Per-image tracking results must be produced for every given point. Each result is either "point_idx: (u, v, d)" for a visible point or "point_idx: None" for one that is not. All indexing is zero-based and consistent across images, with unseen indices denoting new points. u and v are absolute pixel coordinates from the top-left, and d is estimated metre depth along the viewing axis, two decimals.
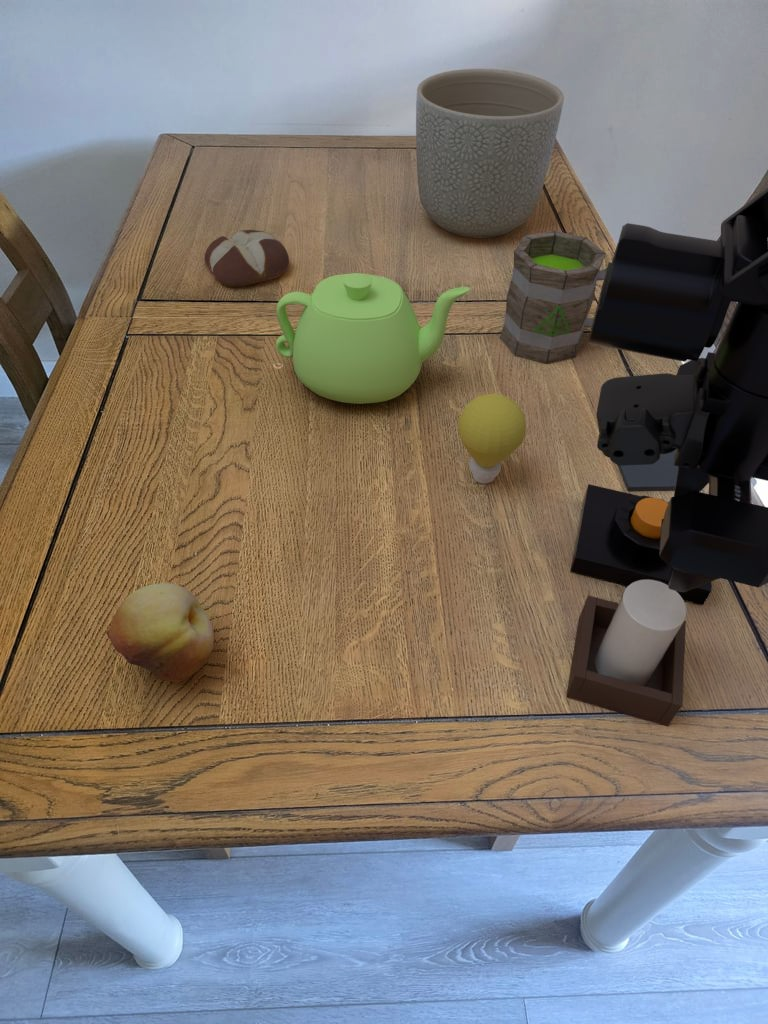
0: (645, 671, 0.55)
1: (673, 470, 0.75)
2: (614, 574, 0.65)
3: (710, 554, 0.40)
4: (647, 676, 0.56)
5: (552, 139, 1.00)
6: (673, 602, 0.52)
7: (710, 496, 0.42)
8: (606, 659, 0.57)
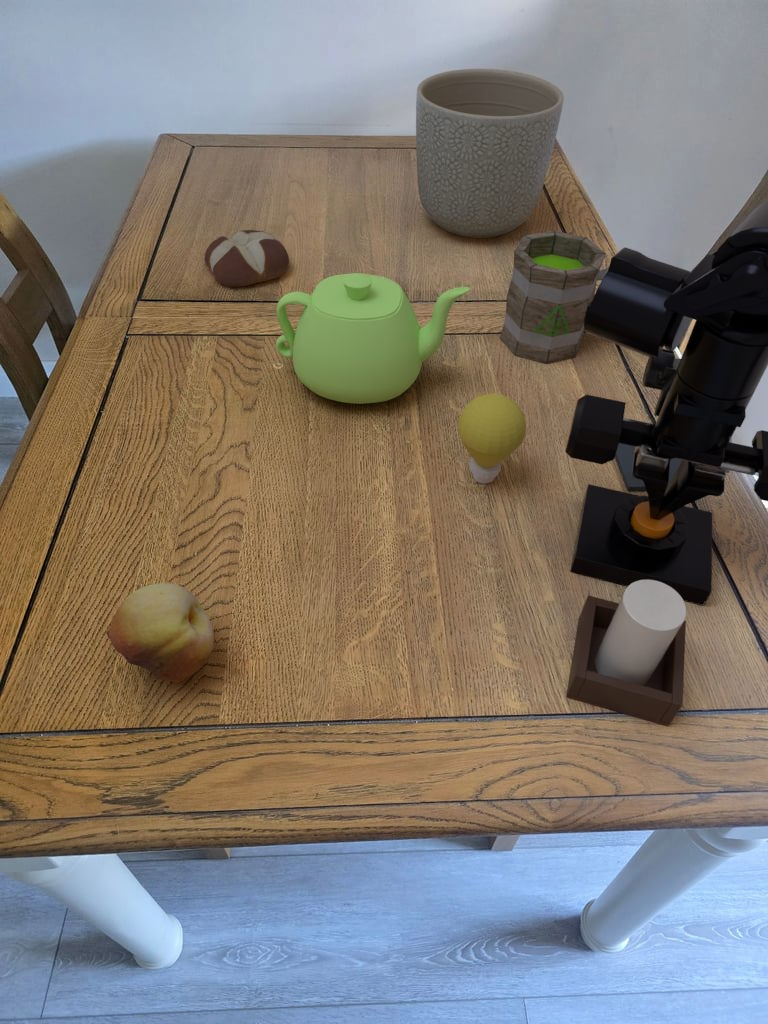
0: (645, 671, 0.55)
1: (673, 470, 0.75)
2: (614, 574, 0.65)
3: (575, 412, 0.60)
4: (647, 676, 0.56)
5: (552, 139, 1.00)
6: (673, 602, 0.52)
7: (622, 409, 0.59)
8: (606, 659, 0.57)
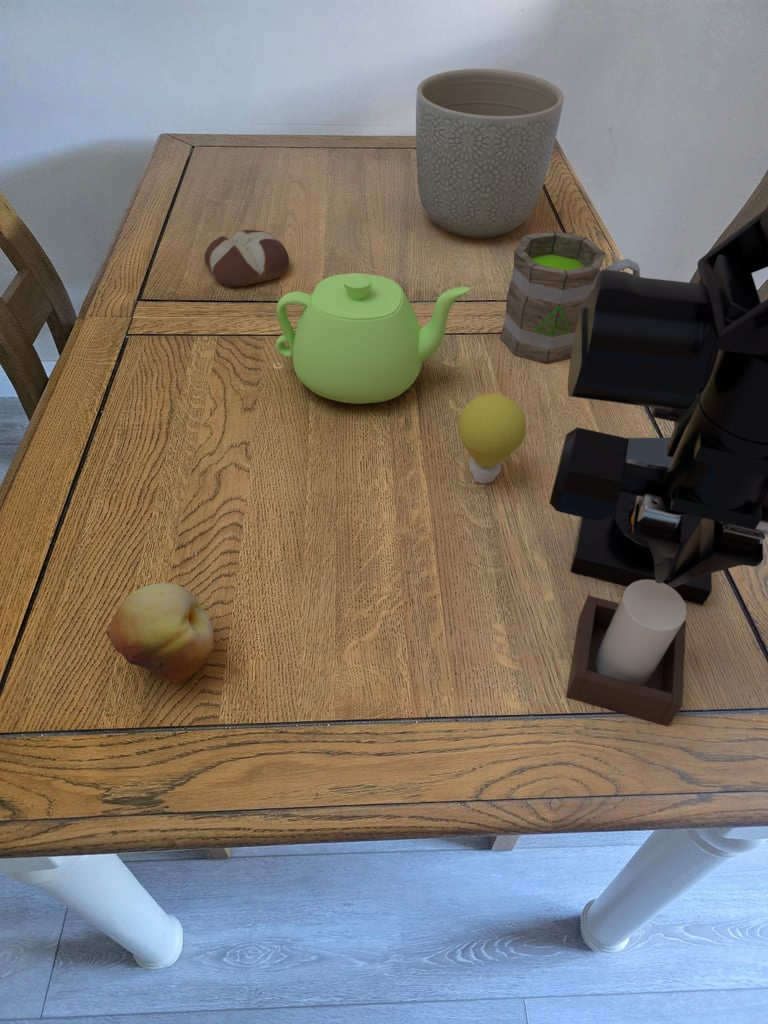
0: (645, 671, 0.55)
1: None
2: (614, 574, 0.65)
3: (562, 450, 0.46)
4: (647, 676, 0.56)
5: (552, 139, 1.00)
6: (673, 602, 0.52)
7: (624, 448, 0.45)
8: (606, 659, 0.57)
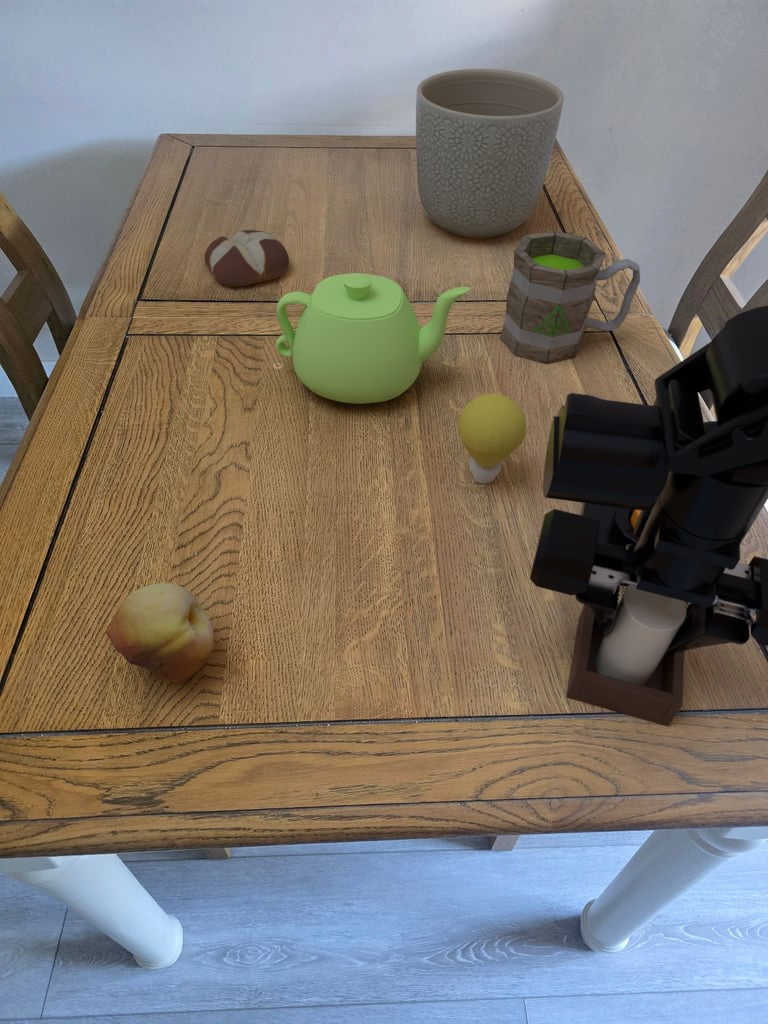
0: (645, 671, 0.55)
1: None
2: None
3: (541, 530, 0.52)
4: (647, 676, 0.56)
5: (552, 139, 1.00)
6: (673, 602, 0.52)
7: (596, 530, 0.50)
8: (606, 659, 0.57)
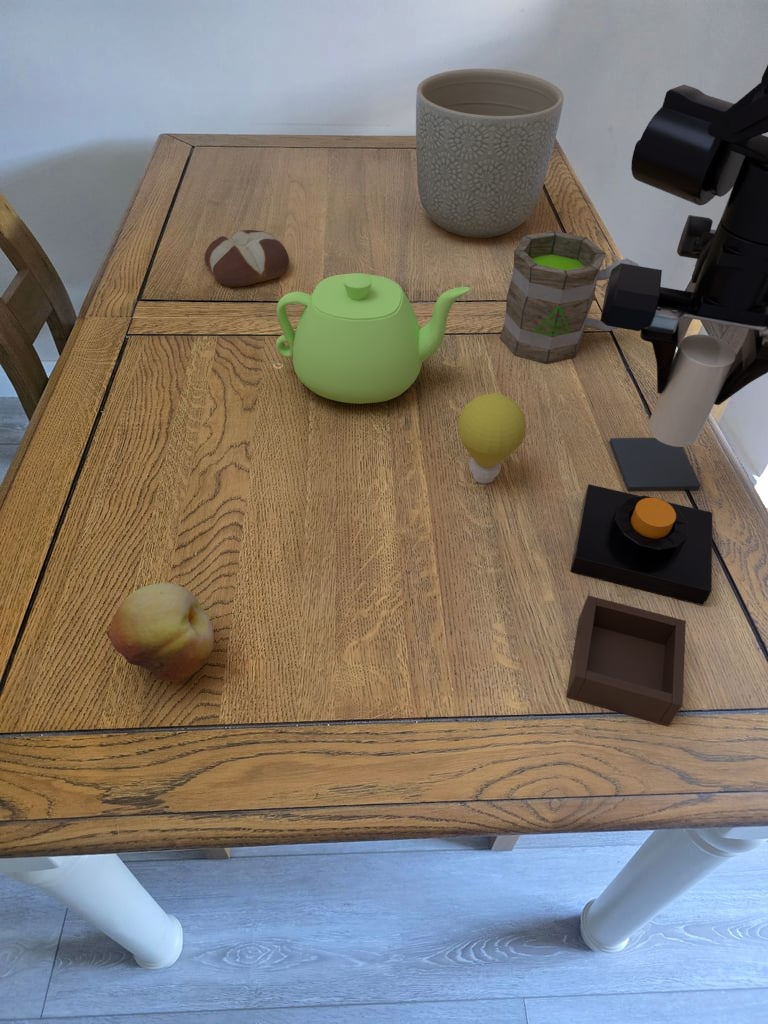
0: (697, 420, 0.62)
1: (673, 470, 0.75)
2: (614, 574, 0.65)
3: (609, 281, 0.58)
4: (697, 429, 0.63)
5: (552, 139, 1.00)
6: (724, 348, 0.59)
7: (659, 276, 0.57)
8: (661, 416, 0.64)
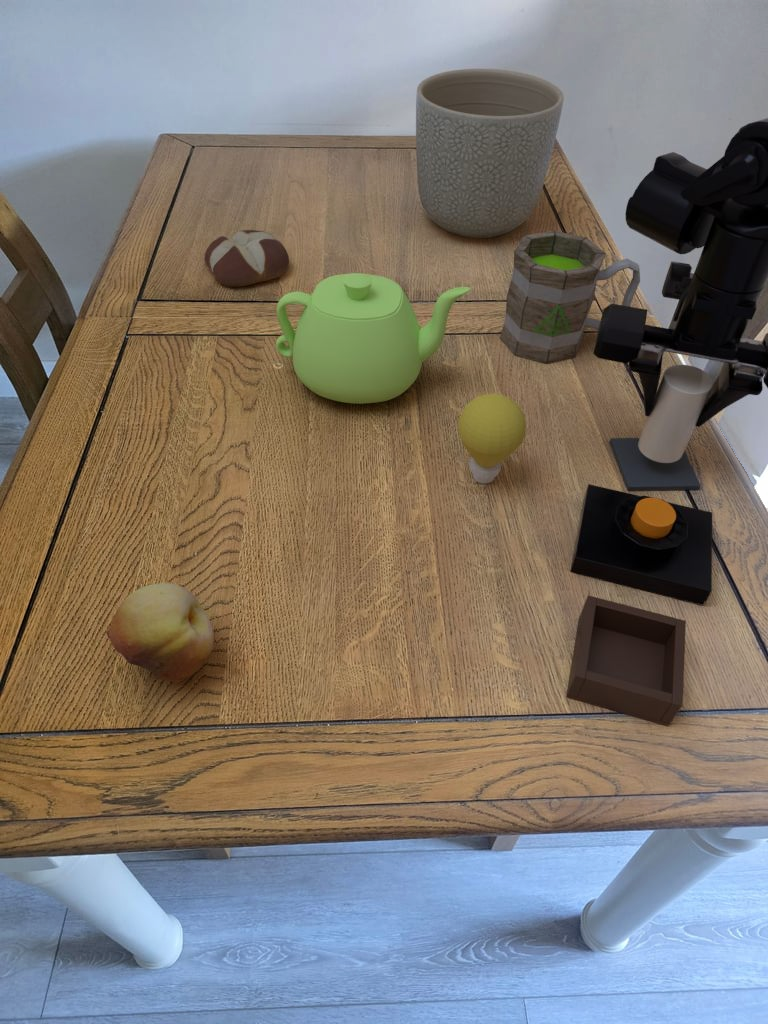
0: (680, 440, 0.70)
1: (673, 470, 0.75)
2: (614, 574, 0.65)
3: (601, 319, 0.67)
4: (681, 447, 0.71)
5: (552, 139, 1.00)
6: (702, 377, 0.68)
7: (644, 315, 0.66)
8: (648, 435, 0.72)
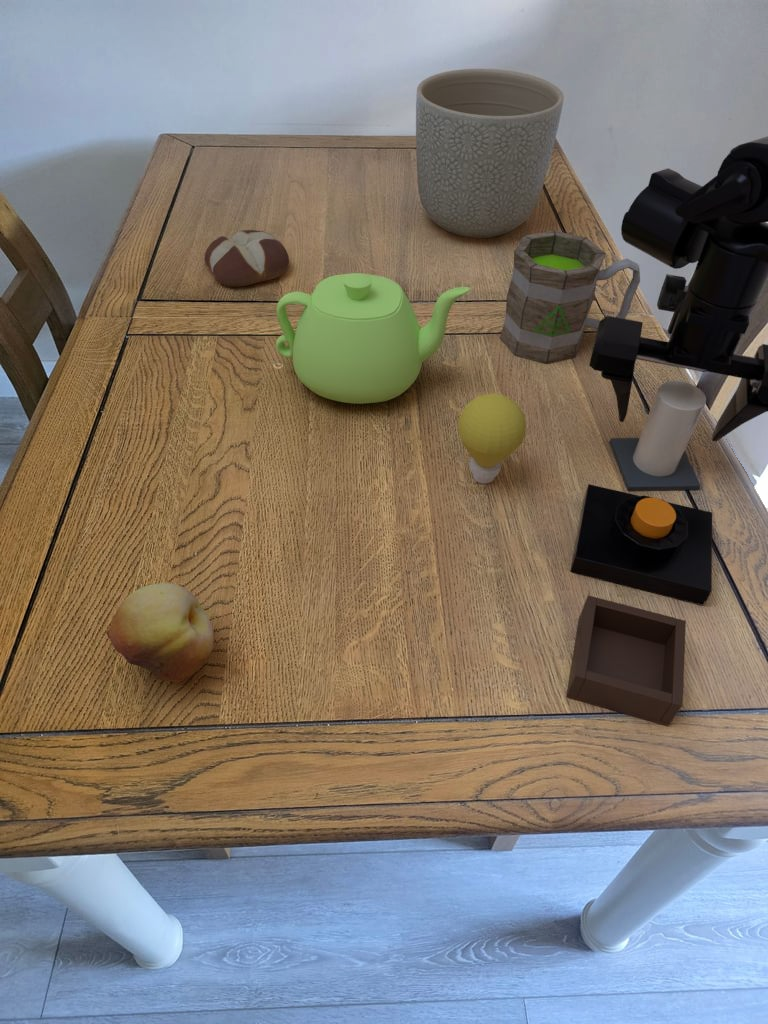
0: (674, 454, 0.72)
1: None
2: (614, 574, 0.65)
3: (597, 331, 0.68)
4: (674, 461, 0.73)
5: (552, 139, 1.00)
6: (696, 394, 0.69)
7: (640, 327, 0.67)
8: (643, 449, 0.73)
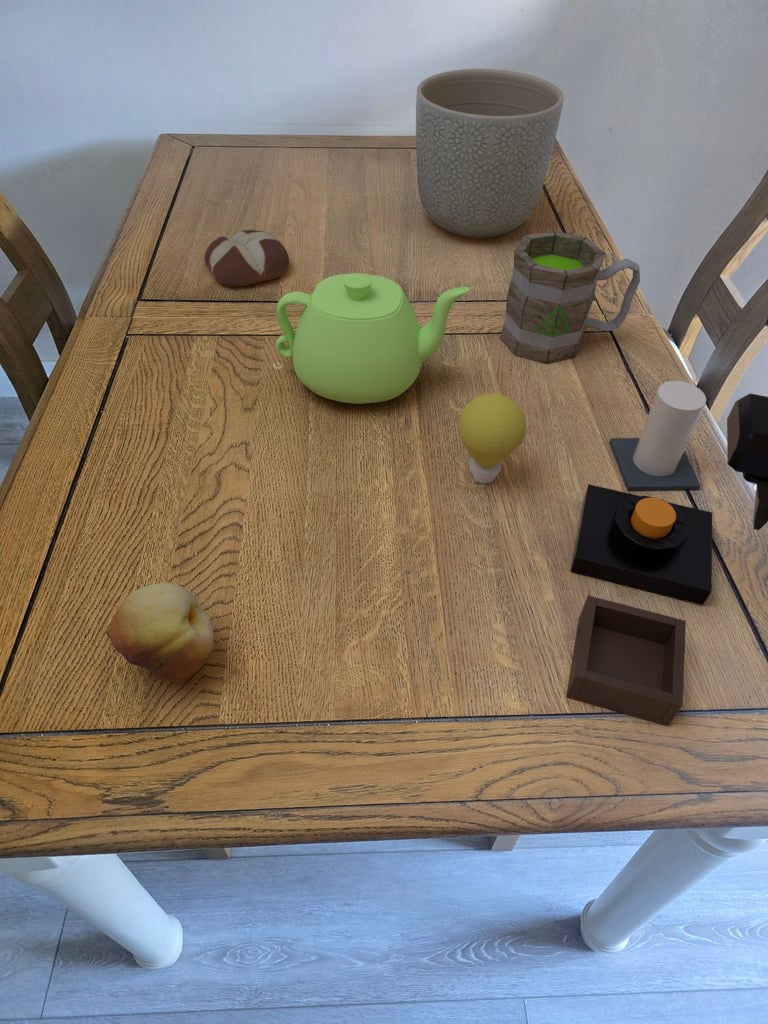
0: (674, 454, 0.72)
1: None
2: (614, 574, 0.65)
3: (736, 415, 0.49)
4: (674, 461, 0.73)
5: (552, 139, 1.00)
6: (696, 394, 0.69)
7: None
8: (643, 449, 0.73)
